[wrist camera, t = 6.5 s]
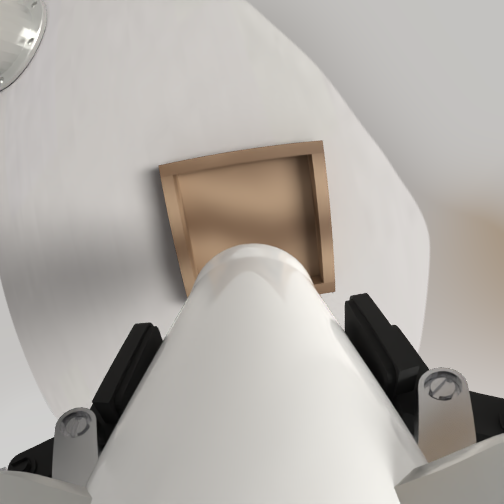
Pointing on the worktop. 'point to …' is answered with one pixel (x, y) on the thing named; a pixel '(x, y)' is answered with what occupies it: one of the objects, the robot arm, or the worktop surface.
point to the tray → (252, 207)
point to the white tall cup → (255, 401)
